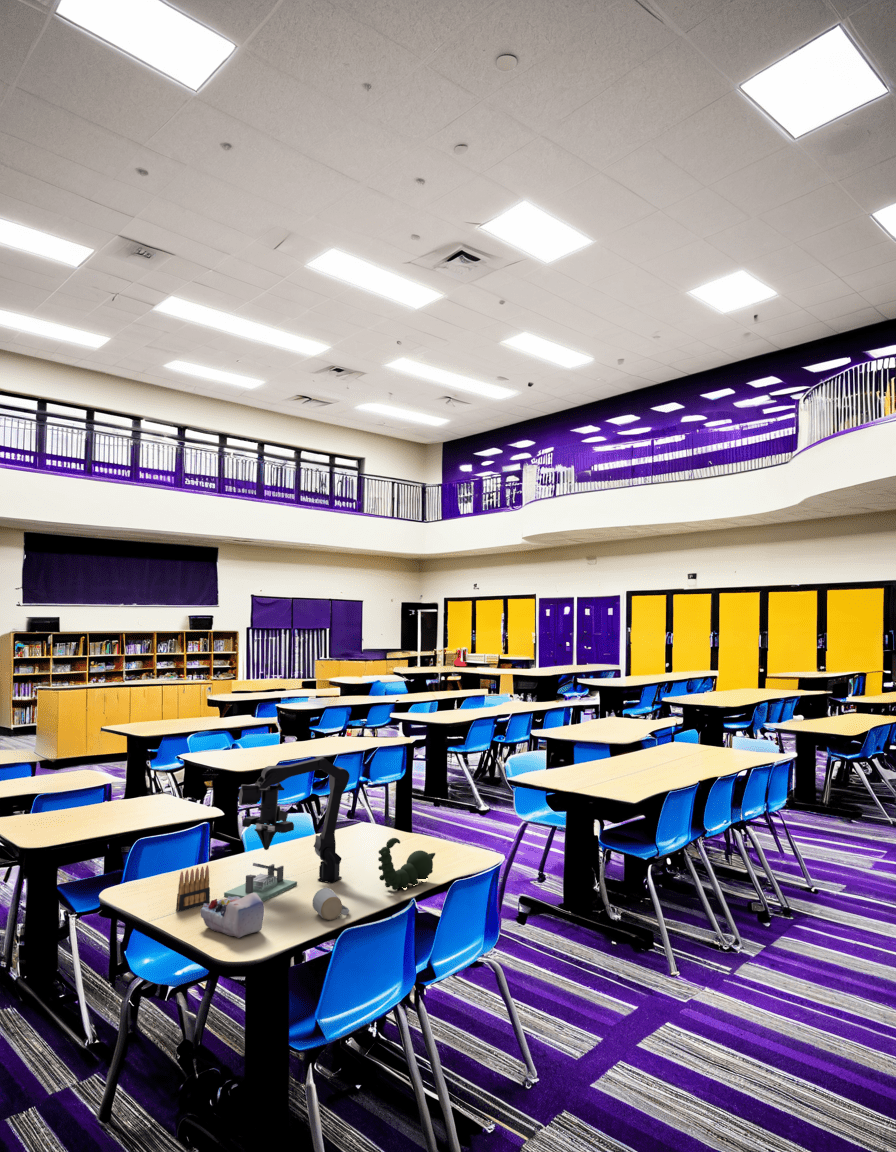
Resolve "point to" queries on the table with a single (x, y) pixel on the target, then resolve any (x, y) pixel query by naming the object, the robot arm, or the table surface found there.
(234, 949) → the table surface
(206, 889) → the ammunition clip
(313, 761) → the robot arm
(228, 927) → the cell model
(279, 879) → the pivot mount
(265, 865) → the strap
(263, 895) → the board
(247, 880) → the lug
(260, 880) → the heatsink
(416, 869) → the toy figurine
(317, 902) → the ceramic mug
